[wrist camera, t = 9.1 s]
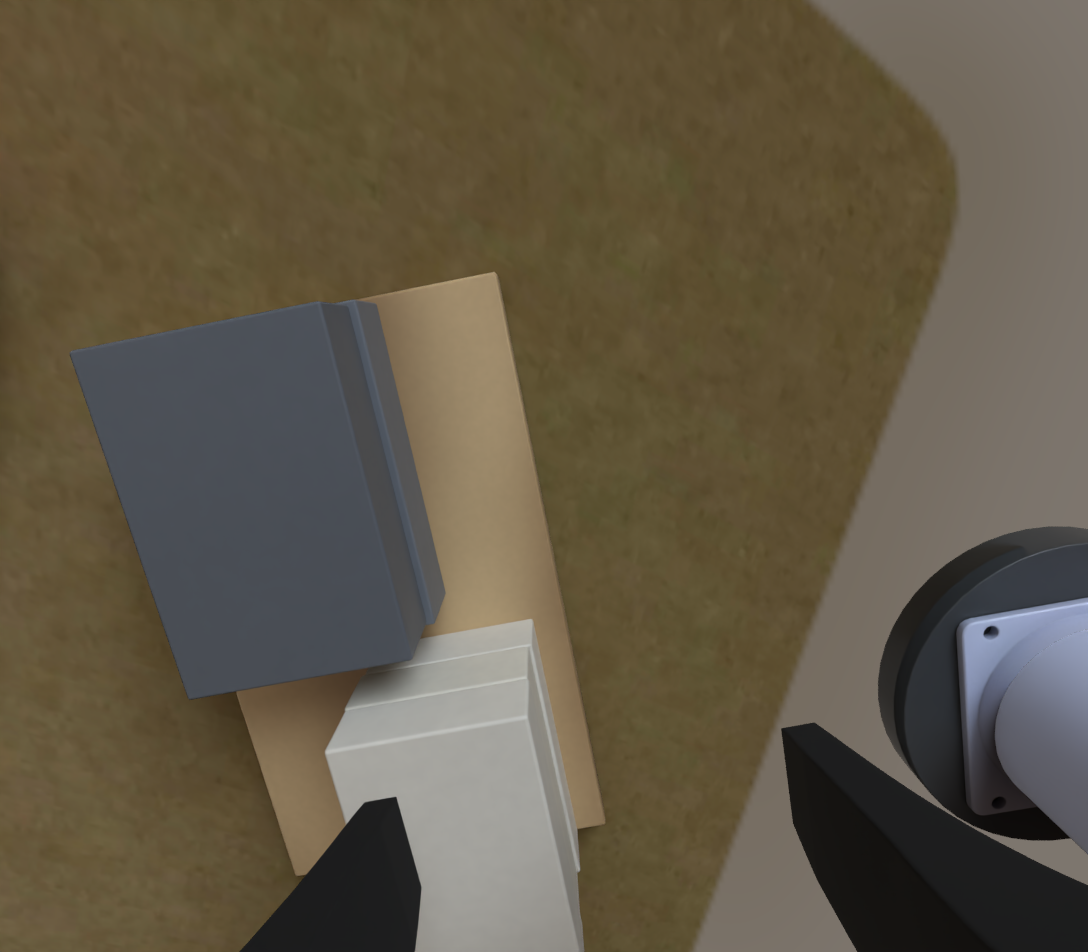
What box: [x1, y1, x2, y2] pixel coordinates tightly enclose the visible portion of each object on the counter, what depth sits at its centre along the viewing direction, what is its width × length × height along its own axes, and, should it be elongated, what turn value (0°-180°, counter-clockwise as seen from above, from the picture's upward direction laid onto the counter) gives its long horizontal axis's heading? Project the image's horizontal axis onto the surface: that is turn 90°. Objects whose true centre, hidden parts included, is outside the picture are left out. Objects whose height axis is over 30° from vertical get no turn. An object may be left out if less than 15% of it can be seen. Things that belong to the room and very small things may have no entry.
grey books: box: [70, 300, 446, 700], centre depth 17 cm, size 6×9×4 cm, turn 11°
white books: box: [344, 619, 580, 912], centre depth 20 cm, size 5×8×4 cm, turn 11°
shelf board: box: [236, 272, 606, 876], centre depth 21 cm, size 11×18×1 cm, turn 11°
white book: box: [325, 679, 584, 952], centre depth 17 cm, size 5×8×2 cm, turn 11°
